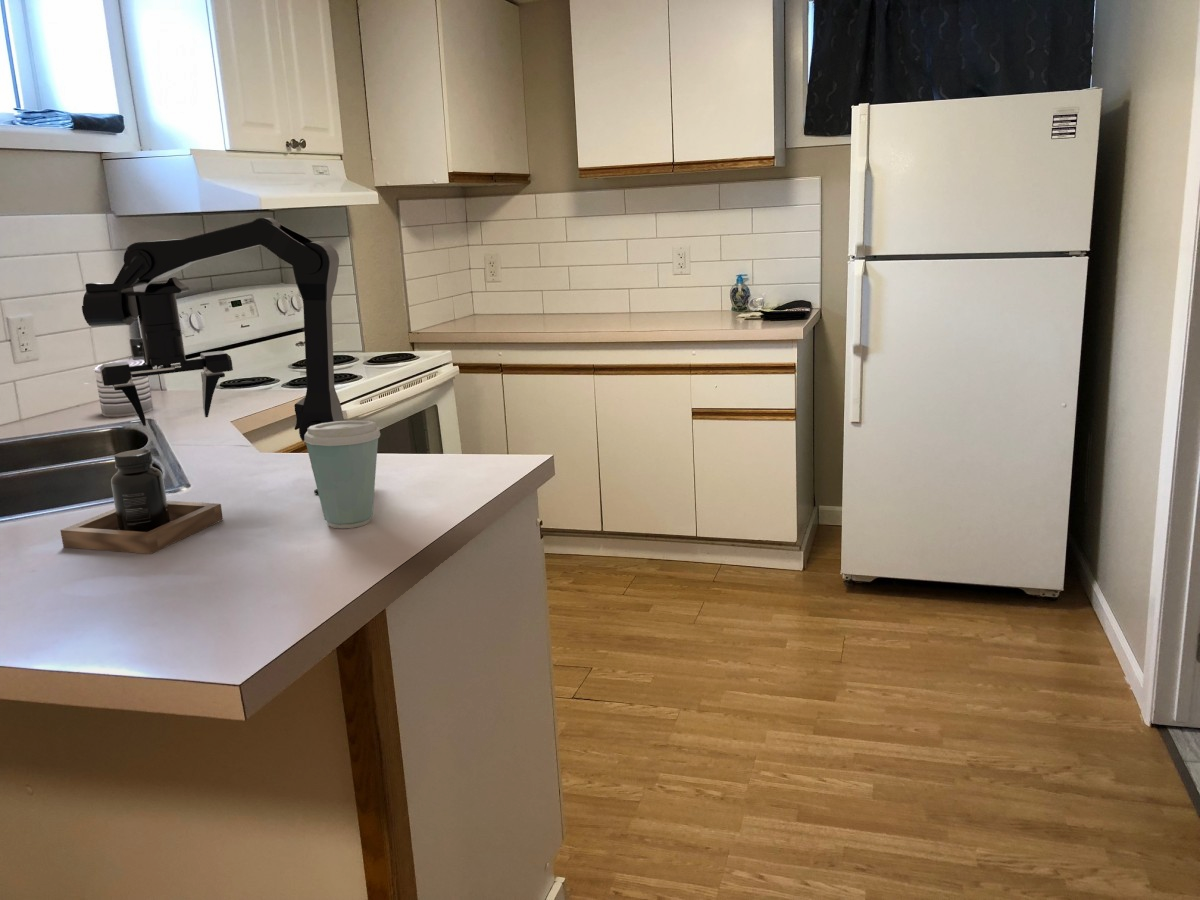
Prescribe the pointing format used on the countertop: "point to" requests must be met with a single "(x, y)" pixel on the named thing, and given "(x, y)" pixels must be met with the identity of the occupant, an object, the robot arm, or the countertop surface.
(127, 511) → the supplement bottle
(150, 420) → the countertop surface
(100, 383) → the white ridged cylinder
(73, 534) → the square wooden frame
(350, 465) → the disposable coffee cup
